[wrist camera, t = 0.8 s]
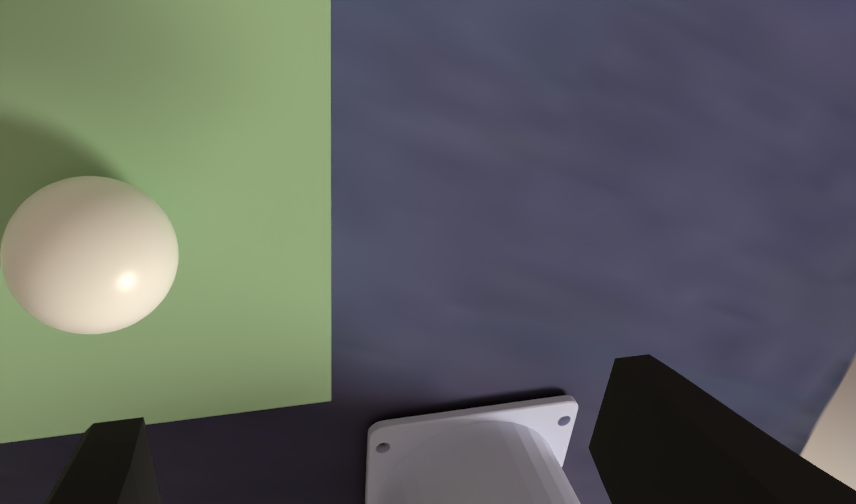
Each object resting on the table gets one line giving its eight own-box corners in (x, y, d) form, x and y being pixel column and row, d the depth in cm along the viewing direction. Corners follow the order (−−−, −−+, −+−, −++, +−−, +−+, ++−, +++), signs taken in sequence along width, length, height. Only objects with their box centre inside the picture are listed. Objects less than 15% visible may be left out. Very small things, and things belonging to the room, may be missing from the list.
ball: (190, 271, 16) (183, 358, 13) (43, 282, 15) (4, 376, 12) (173, 148, 14) (161, 219, 11) (6, 152, 13) (-48, 231, 11)
